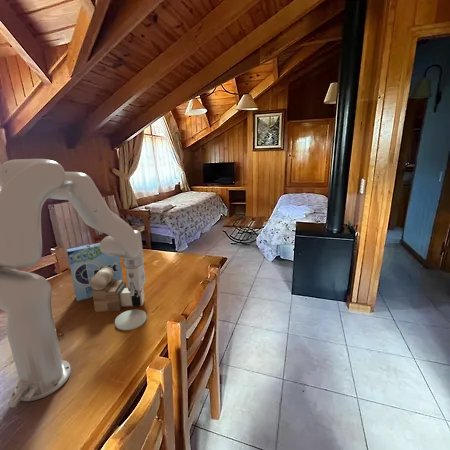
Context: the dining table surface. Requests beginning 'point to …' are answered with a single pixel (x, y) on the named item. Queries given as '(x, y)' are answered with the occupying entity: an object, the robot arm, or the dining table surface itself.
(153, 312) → the dining table surface
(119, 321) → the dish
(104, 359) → the dining table surface
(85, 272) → the gum box
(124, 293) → the white box
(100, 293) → the dispenser
